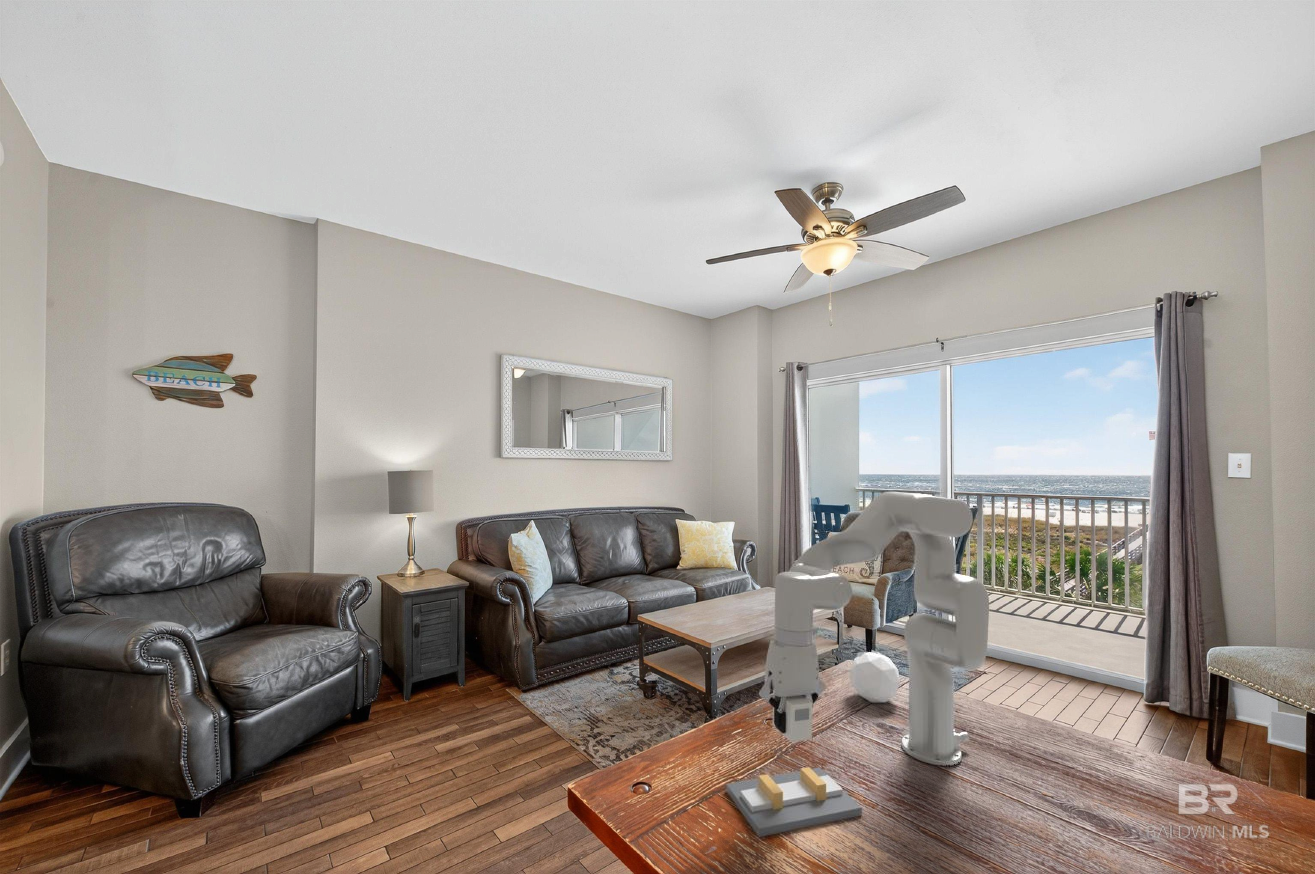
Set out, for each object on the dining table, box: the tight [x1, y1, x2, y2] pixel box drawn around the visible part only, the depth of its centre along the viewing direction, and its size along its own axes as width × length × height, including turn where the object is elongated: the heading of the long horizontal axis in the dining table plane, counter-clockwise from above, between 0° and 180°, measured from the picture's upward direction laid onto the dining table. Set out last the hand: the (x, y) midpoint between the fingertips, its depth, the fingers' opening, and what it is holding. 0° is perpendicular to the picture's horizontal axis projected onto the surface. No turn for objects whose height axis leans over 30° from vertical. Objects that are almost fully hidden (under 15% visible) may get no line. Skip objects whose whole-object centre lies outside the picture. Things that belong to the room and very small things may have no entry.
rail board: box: [725, 766, 863, 838], centre depth 108 cm, size 22×14×4 cm, turn 107°
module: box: [772, 690, 813, 743], centre depth 109 cm, size 5×7×7 cm, turn 17°
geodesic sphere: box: [849, 649, 901, 703], centre depth 156 cm, size 14×14×14 cm
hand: (792, 727), depth 109 cm, fingers closed on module, 4 cm apart
